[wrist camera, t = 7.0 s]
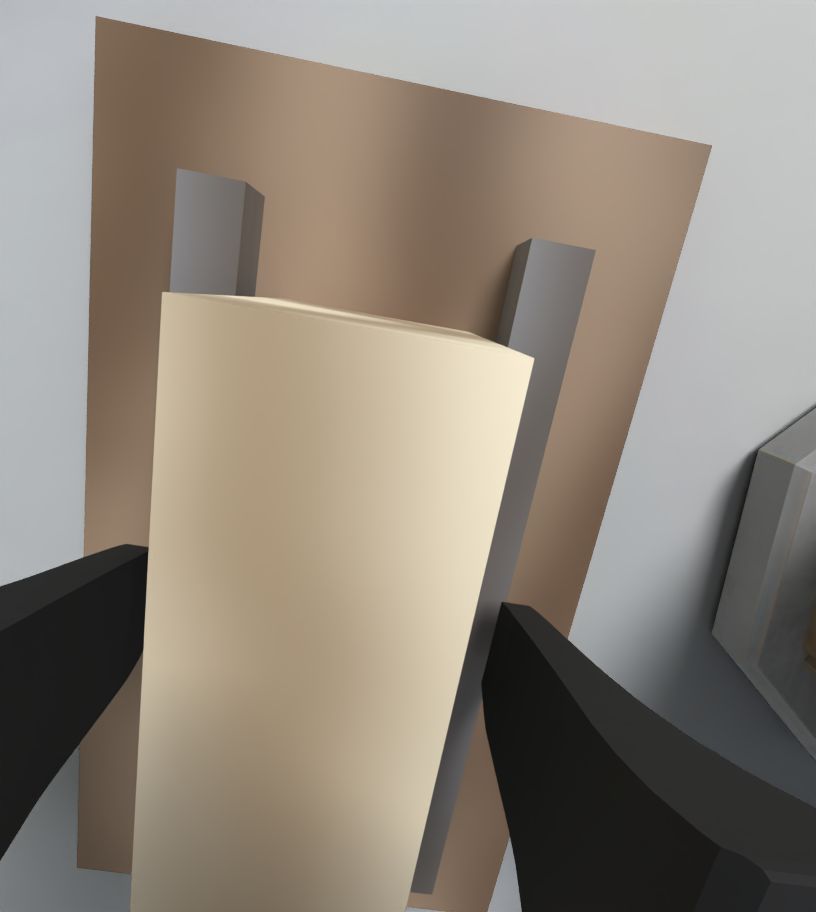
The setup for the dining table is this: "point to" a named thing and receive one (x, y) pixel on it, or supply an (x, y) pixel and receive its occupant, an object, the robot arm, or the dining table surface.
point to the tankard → (777, 581)
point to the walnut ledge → (383, 294)
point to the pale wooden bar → (308, 596)
